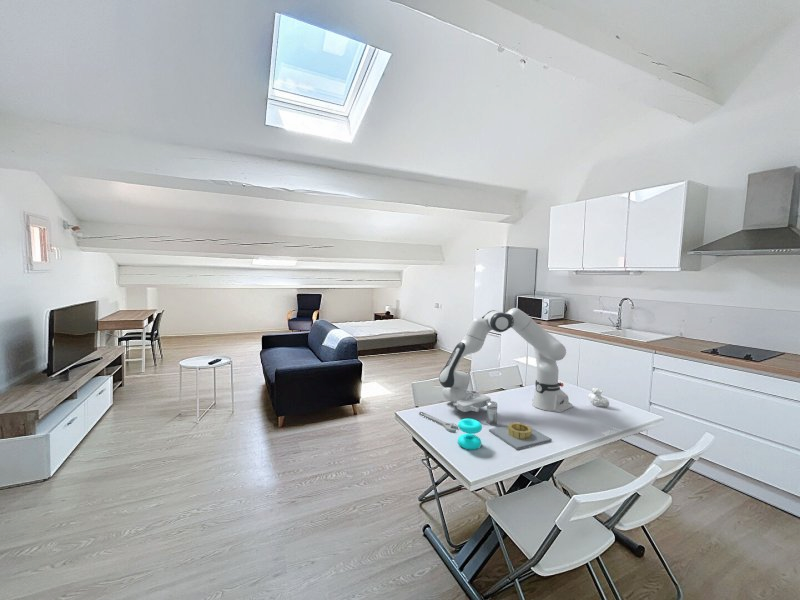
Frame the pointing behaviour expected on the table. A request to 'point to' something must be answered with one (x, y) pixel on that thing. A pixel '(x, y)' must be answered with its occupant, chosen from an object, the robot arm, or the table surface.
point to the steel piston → (491, 413)
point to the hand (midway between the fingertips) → (485, 408)
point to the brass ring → (519, 431)
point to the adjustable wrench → (441, 422)
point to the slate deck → (519, 443)
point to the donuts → (469, 434)
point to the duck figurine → (598, 398)
